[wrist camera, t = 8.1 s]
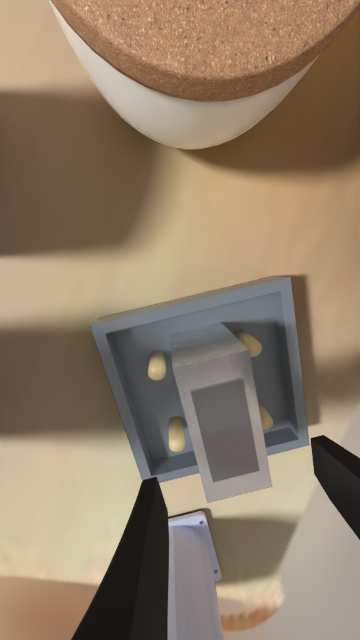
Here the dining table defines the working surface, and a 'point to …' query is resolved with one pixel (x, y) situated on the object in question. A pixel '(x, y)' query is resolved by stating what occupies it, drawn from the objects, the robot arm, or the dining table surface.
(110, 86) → the lidded bowl
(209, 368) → the block
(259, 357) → the tray
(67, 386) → the dining table surface
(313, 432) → the dining table surface
